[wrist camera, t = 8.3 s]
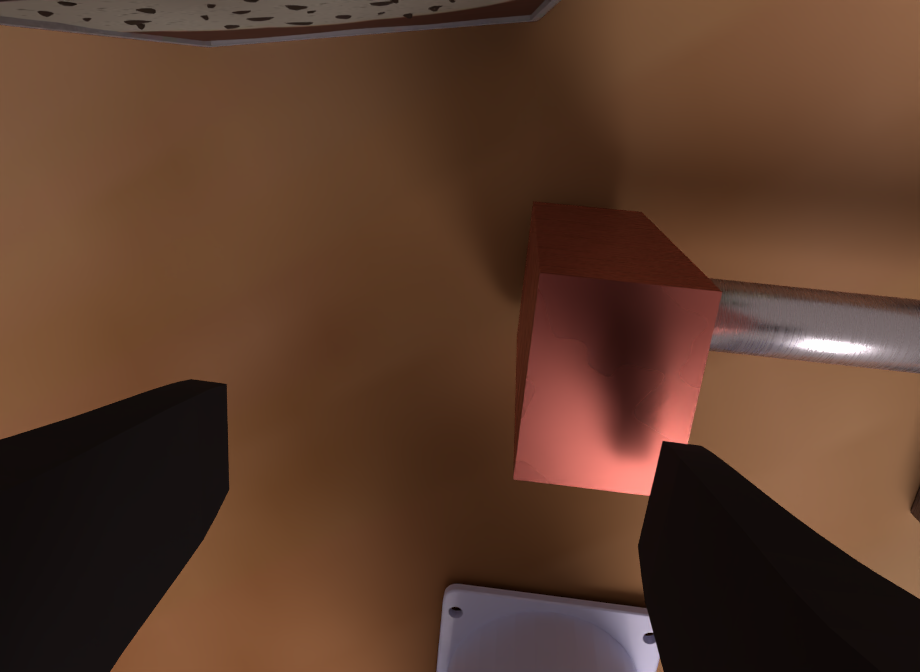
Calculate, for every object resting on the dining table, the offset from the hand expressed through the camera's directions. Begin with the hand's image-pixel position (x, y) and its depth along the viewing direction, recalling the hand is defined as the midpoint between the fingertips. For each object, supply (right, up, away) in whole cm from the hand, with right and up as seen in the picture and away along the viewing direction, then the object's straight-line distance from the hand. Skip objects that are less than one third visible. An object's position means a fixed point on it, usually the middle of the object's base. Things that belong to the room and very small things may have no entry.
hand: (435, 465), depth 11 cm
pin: (+9, +3, +8) cm, 13 cm away
